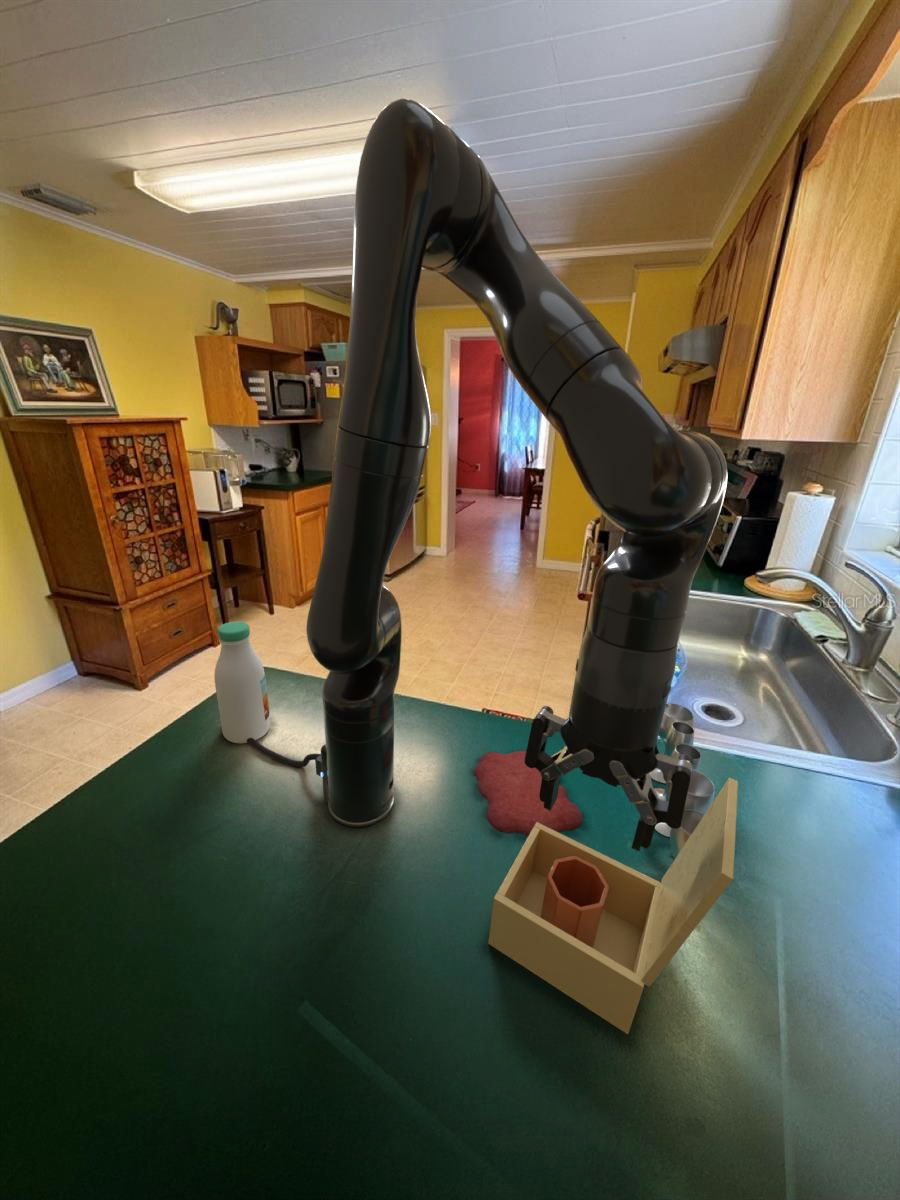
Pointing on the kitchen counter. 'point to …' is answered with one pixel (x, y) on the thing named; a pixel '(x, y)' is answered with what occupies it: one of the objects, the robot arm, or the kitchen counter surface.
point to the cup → (575, 898)
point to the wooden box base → (559, 958)
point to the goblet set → (701, 789)
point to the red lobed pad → (520, 796)
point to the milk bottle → (240, 686)
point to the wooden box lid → (693, 881)
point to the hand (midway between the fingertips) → (591, 823)
